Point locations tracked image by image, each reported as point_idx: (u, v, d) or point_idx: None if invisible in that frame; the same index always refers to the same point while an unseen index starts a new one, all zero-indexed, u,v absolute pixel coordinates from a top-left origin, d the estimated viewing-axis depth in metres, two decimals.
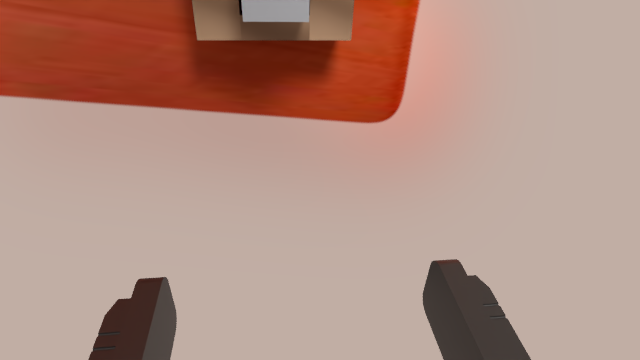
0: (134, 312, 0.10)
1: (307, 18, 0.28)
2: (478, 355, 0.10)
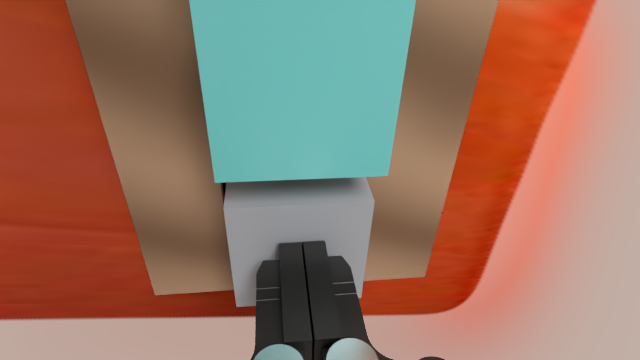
0: (287, 269, 0.12)
1: (358, 294, 0.15)
2: (312, 326, 0.10)
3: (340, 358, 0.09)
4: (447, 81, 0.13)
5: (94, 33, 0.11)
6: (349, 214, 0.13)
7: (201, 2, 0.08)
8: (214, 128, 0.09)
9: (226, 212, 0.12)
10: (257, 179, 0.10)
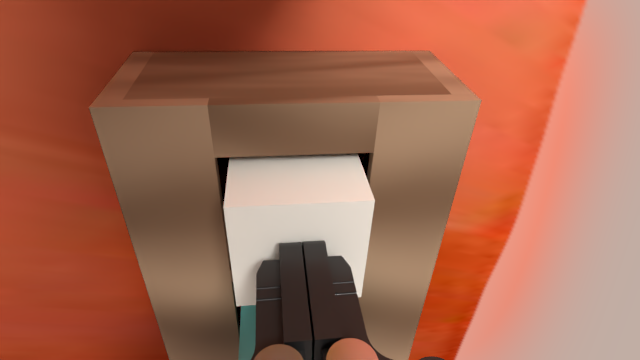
0: (287, 269, 0.12)
1: None
2: (312, 326, 0.10)
3: (340, 358, 0.09)
4: (398, 322, 0.20)
5: (168, 320, 0.18)
6: None
7: None
8: None
9: None
10: None
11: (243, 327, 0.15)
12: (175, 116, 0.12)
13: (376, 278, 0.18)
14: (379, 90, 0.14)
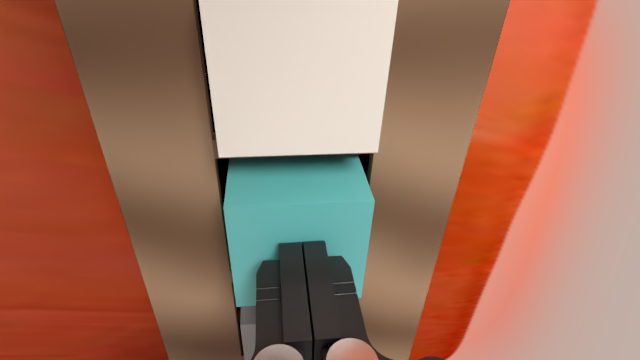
0: (287, 269, 0.12)
1: None
2: (312, 327, 0.10)
3: (340, 358, 0.09)
4: (420, 230, 0.16)
5: (137, 214, 0.14)
6: None
7: (232, 214, 0.12)
8: (237, 277, 0.14)
9: (242, 327, 0.16)
10: None
11: (231, 177, 0.13)
12: None
13: (396, 162, 0.14)
14: None
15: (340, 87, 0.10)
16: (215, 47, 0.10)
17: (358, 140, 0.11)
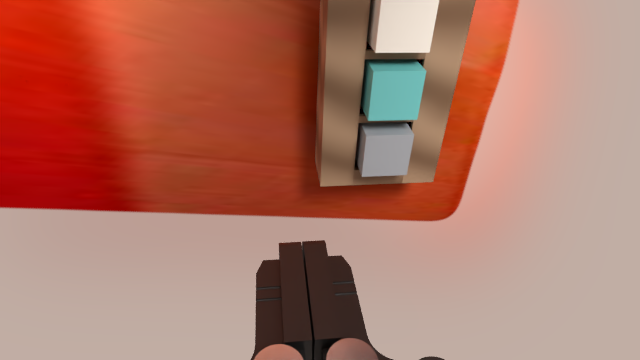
0: (287, 269, 0.12)
1: (405, 173, 0.40)
2: (312, 326, 0.10)
3: (340, 358, 0.09)
4: (442, 98, 0.37)
5: (330, 84, 0.35)
6: (405, 139, 0.37)
7: (376, 74, 0.33)
8: (371, 104, 0.35)
9: (366, 137, 0.37)
10: (379, 120, 0.36)
11: (370, 64, 0.35)
12: None
13: (433, 63, 0.35)
14: None
15: (419, 27, 0.32)
16: (383, 12, 0.31)
17: (423, 47, 0.33)
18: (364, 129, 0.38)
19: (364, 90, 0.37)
